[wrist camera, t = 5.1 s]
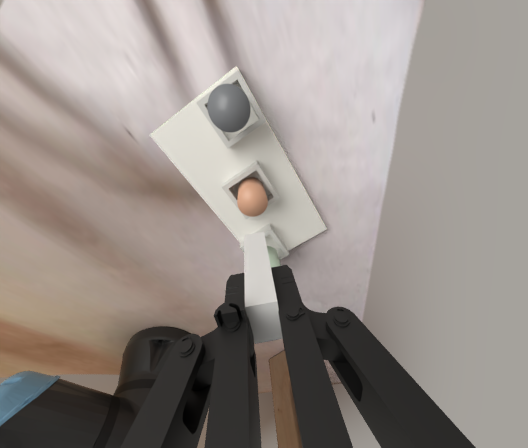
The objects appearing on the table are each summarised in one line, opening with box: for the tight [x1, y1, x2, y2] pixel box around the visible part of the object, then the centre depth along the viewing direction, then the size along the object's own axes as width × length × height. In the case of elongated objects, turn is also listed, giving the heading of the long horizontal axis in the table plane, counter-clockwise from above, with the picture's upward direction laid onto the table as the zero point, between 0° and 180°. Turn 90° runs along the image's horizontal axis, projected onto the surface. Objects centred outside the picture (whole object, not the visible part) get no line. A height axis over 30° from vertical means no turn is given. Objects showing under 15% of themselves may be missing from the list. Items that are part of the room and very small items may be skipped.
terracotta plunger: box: [237, 177, 268, 217], centre depth 26 cm, size 4×4×5 cm
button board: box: [150, 66, 327, 260], centre depth 29 cm, size 13×25×3 cm, turn 32°
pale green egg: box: [267, 246, 281, 268], centre depth 28 cm, size 4×4×5 cm
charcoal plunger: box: [207, 84, 250, 132], centre depth 19 cm, size 4×4×5 cm
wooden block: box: [269, 350, 302, 448], centre depth 42 cm, size 9×4×18 cm, turn 130°
